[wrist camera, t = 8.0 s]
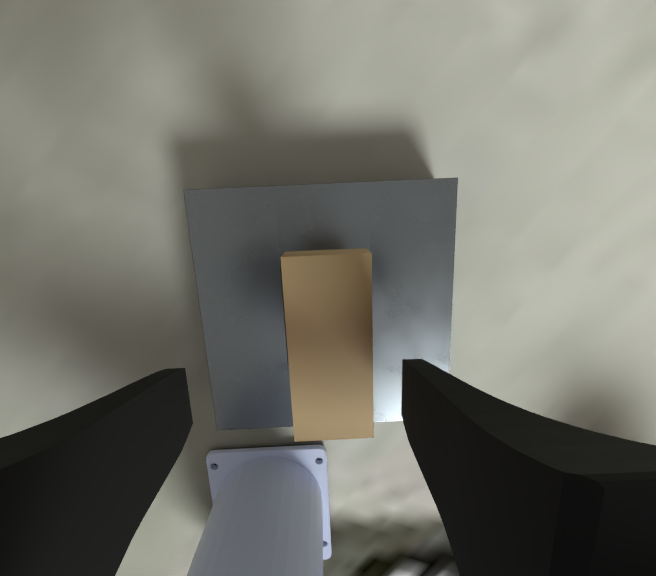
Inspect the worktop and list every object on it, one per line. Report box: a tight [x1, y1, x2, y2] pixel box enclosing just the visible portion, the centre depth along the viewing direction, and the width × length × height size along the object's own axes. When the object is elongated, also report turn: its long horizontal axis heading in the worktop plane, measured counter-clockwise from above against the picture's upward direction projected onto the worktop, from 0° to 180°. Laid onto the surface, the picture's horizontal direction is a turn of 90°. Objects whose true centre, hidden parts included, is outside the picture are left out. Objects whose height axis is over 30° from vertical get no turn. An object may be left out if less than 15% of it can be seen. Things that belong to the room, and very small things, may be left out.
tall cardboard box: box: [280, 248, 374, 442], centre depth 16 cm, size 7×3×8 cm, turn 2°
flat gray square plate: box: [183, 178, 458, 430], centre depth 18 cm, size 13×13×3 cm
